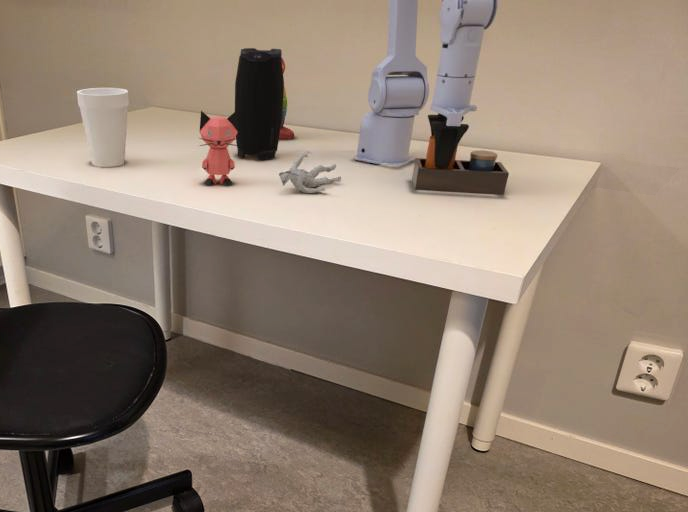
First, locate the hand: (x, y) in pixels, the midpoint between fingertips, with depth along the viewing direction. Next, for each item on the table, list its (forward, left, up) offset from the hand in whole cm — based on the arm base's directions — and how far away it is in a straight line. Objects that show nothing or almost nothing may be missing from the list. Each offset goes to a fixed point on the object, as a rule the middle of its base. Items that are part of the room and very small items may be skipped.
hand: (439, 163), depth 107 cm
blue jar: (+6, +3, -4) cm, 8 cm away
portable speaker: (-37, -2, -4) cm, 37 cm away
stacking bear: (-47, +14, -4) cm, 49 cm away
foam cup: (-55, -26, -4) cm, 61 cm away
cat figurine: (-30, -22, -4) cm, 38 cm away
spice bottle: (0, 0, -3) cm, 3 cm away
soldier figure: (-16, -14, -4) cm, 22 cm away
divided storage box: (+3, +2, -4) cm, 5 cm away
